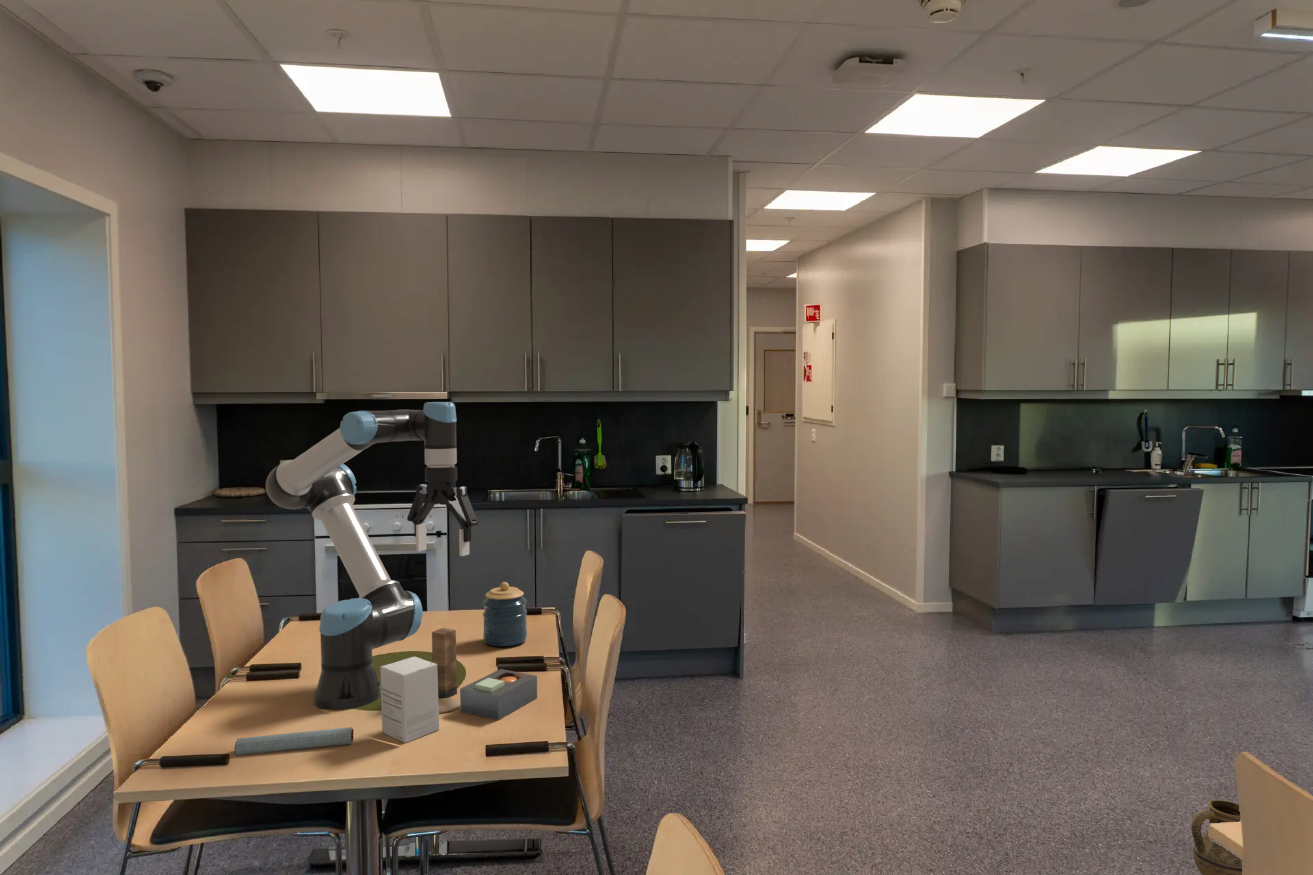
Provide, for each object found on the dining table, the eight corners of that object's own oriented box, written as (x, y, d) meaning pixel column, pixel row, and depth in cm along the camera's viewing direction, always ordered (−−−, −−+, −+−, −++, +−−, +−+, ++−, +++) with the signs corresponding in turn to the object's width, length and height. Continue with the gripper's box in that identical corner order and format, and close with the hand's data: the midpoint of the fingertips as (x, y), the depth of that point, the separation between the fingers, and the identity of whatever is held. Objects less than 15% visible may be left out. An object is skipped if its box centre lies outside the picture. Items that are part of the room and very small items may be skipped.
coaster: (445, 715, 188) (445, 713, 188) (418, 709, 191) (418, 707, 191) (468, 703, 195) (468, 701, 195) (442, 698, 198) (442, 695, 198)
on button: (504, 691, 192) (504, 680, 192) (491, 698, 188) (491, 687, 187) (488, 688, 194) (488, 677, 194) (475, 694, 190) (475, 684, 190)
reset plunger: (520, 688, 198) (520, 678, 198) (510, 693, 194) (510, 683, 194) (507, 685, 200) (506, 675, 200) (496, 690, 196) (496, 680, 196)
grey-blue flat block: (234, 758, 167) (233, 742, 167) (242, 745, 174) (242, 729, 173) (352, 746, 173) (351, 730, 172) (355, 733, 179) (355, 718, 179)
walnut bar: (445, 699, 198) (444, 634, 197) (432, 696, 200) (431, 631, 199) (457, 693, 201) (456, 629, 201) (444, 690, 203) (443, 627, 202)
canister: (522, 632, 253) (521, 575, 252) (531, 644, 241) (530, 585, 240) (479, 636, 248) (479, 579, 247) (487, 649, 236) (486, 589, 235)
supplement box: (416, 719, 186) (414, 654, 185) (440, 730, 180) (438, 663, 179) (380, 732, 179) (379, 665, 178) (404, 743, 173) (402, 674, 172)
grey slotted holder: (537, 697, 198) (536, 675, 198) (498, 720, 185) (498, 696, 185) (500, 690, 203) (500, 668, 203) (460, 711, 190) (460, 688, 190)
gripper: (492, 466, 195) (493, 554, 196) (413, 462, 206) (415, 545, 208) (471, 469, 188) (472, 560, 189) (391, 465, 200) (393, 551, 201)
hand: (442, 552), depth 198 cm, fingers open, 13 cm apart
